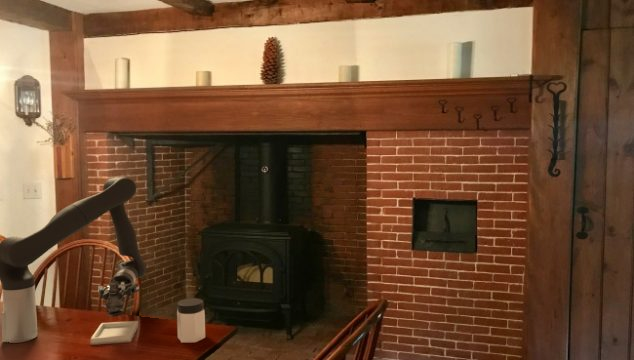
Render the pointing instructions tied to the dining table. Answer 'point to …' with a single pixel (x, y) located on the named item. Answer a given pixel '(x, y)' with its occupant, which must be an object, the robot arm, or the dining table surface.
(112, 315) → the salt shaker
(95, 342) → the tray
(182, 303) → the jar
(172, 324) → the dining table surface
